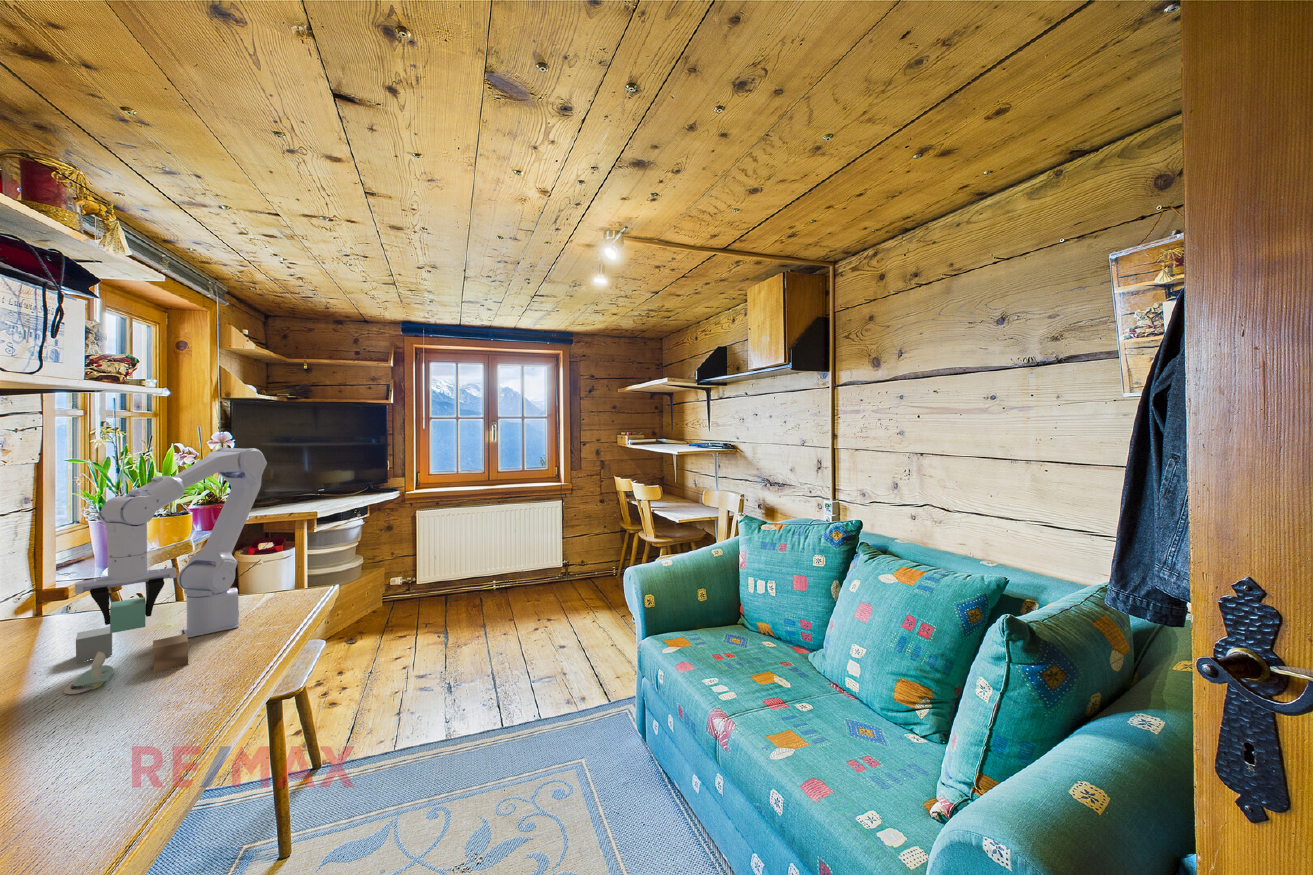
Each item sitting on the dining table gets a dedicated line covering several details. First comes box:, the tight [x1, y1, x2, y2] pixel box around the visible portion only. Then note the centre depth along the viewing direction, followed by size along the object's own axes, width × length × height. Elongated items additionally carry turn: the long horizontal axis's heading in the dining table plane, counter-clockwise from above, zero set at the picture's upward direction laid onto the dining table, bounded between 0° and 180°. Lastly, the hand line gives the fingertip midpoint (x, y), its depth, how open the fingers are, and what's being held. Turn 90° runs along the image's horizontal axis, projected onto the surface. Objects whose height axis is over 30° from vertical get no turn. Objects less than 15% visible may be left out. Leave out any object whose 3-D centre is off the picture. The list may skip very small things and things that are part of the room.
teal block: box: [109, 596, 146, 634], centre depth 106 cm, size 5×5×5 cm
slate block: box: [75, 626, 114, 664], centre depth 107 cm, size 5×5×5 cm
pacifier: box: [63, 652, 114, 695], centre depth 95 cm, size 7×6×6 cm
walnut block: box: [152, 633, 189, 674], centre depth 104 cm, size 5×5×5 cm
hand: (128, 619), depth 106 cm, fingers closed on teal block, 5 cm apart
